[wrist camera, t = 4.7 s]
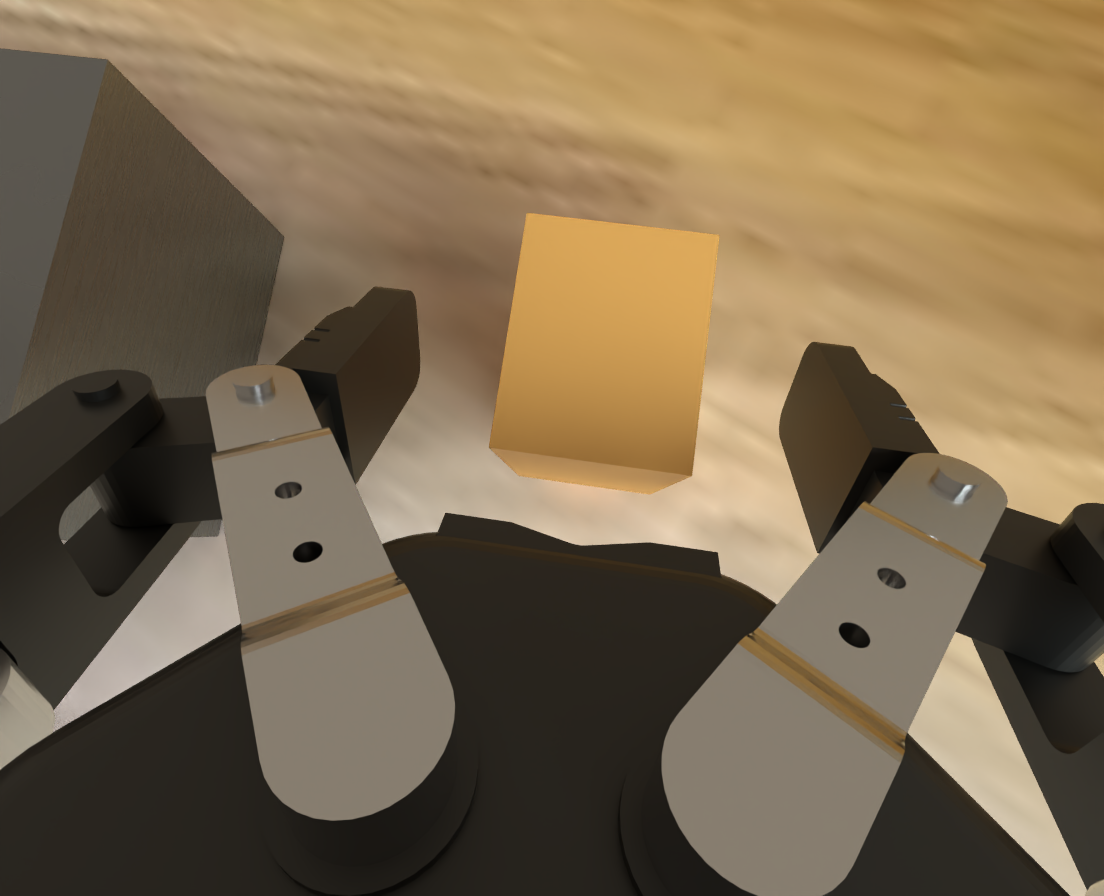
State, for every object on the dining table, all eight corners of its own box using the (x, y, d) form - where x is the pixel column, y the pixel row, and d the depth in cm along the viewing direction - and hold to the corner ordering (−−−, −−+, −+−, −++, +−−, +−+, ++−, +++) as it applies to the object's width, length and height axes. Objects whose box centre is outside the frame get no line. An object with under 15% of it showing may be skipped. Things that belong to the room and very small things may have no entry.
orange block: (653, 368, 17) (719, 235, 9) (636, 500, 17) (692, 476, 9) (548, 355, 17) (526, 212, 10) (529, 485, 17) (489, 447, 9)
